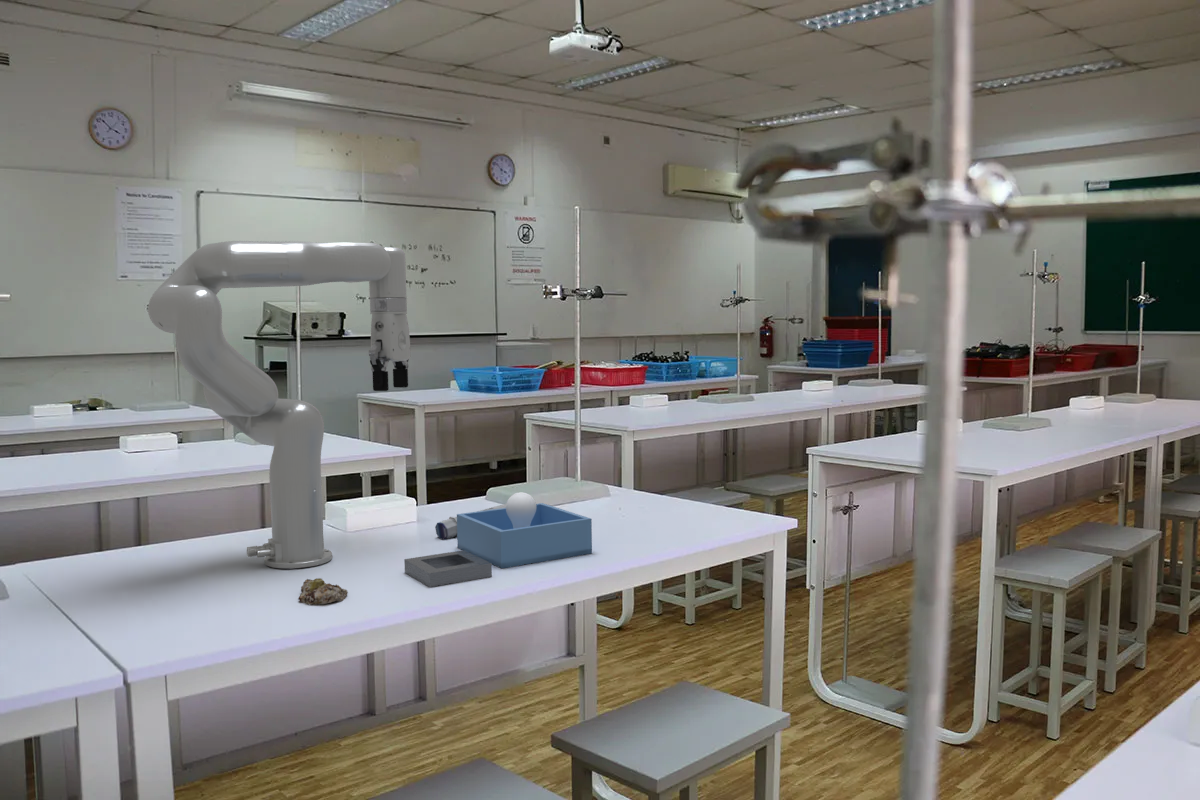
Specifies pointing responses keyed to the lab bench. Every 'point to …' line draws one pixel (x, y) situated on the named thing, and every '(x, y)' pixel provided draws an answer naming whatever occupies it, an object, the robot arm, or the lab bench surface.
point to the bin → (524, 536)
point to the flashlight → (453, 525)
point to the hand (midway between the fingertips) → (391, 389)
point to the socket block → (447, 568)
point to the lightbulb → (521, 509)
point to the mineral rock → (321, 592)
